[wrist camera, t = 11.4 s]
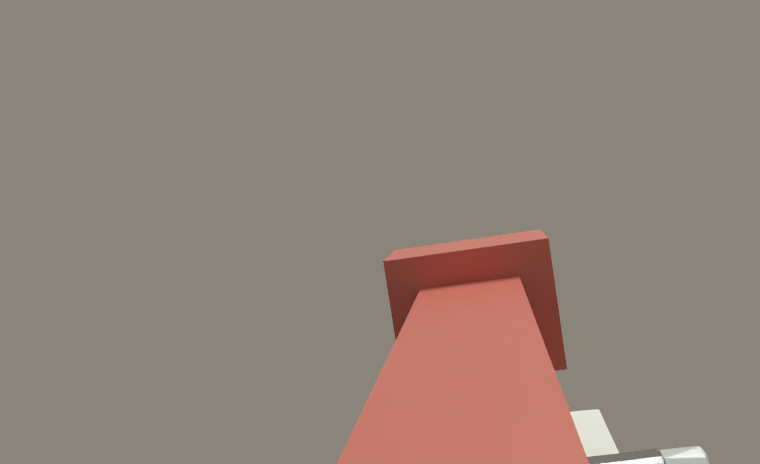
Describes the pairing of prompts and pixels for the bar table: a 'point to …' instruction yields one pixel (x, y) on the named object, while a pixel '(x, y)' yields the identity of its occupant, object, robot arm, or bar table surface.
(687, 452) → the robot arm
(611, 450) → the pedestal
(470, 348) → the red stepped block
